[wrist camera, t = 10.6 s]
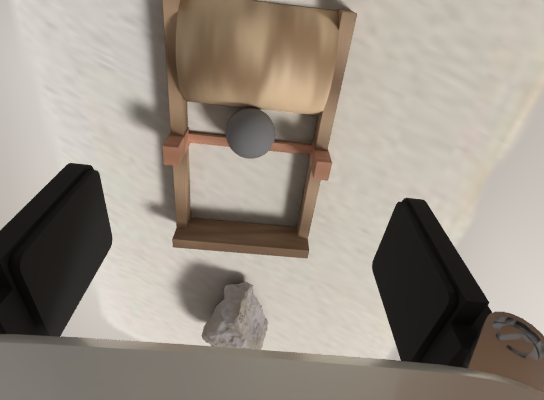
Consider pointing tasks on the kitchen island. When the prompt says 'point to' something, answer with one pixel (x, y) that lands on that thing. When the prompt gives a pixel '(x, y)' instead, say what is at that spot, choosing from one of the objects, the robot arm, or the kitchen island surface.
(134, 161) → the kitchen island surface
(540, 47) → the kitchen island surface
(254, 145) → the ball
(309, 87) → the wooden roller rack
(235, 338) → the stone
